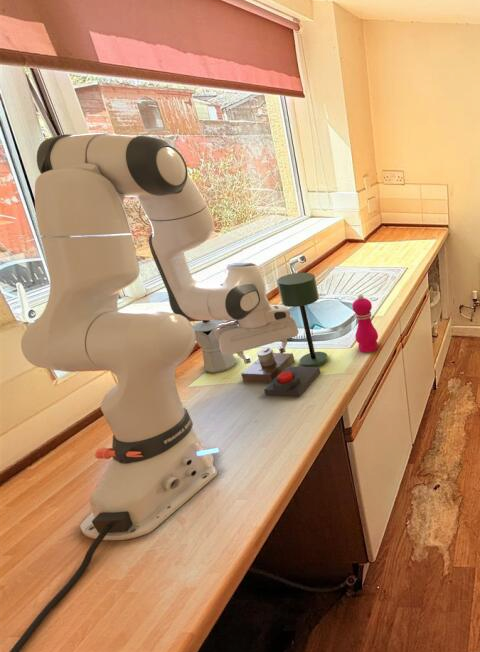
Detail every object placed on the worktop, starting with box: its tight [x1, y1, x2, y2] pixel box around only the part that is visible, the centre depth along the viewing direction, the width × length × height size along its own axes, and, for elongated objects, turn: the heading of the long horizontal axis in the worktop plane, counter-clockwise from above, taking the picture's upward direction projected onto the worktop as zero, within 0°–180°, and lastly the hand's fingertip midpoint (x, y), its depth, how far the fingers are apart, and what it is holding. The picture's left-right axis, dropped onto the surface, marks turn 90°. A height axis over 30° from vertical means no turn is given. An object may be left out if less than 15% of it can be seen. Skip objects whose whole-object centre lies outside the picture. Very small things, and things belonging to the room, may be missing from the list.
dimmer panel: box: [240, 352, 295, 384], centre depth 123 cm, size 12×9×3 cm
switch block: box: [263, 365, 321, 398], centre depth 117 cm, size 12×10×4 cm
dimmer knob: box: [256, 347, 275, 366], centre depth 122 cm, size 4×4×4 cm
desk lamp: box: [276, 272, 329, 368], centre depth 123 cm, size 10×10×29 cm
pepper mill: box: [351, 294, 379, 354], centre depth 134 cm, size 7×7×20 cm
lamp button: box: [278, 371, 293, 383], centre depth 113 cm, size 4×4×2 cm
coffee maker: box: [192, 320, 237, 374], centre depth 124 cm, size 15×9×18 cm, turn 34°
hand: (265, 357), depth 121 cm, fingers open, 8 cm apart
